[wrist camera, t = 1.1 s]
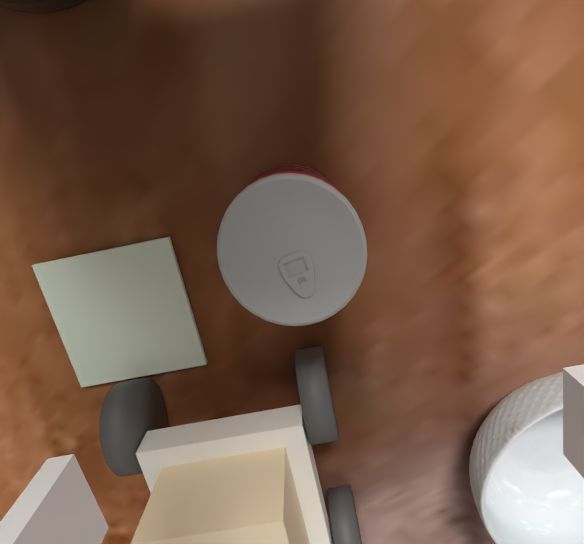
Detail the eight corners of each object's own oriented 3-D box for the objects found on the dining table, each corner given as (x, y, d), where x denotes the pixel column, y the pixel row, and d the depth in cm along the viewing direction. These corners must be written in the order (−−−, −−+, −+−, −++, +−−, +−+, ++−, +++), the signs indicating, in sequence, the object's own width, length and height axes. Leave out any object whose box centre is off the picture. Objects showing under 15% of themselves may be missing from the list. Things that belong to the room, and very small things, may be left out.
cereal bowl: (590, 305, 33) (666, 347, 26) (674, 443, 37) (759, 510, 30) (412, 416, 36) (439, 478, 30) (506, 532, 40) (549, 610, 33)
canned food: (286, 286, 33) (281, 354, 22) (219, 207, 31) (181, 239, 21) (365, 228, 31) (400, 270, 21) (300, 140, 30) (303, 139, 19)
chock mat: (34, 264, 32) (31, 265, 32) (169, 236, 32) (168, 237, 31) (83, 384, 36) (81, 387, 35) (207, 362, 35) (206, 364, 34)
